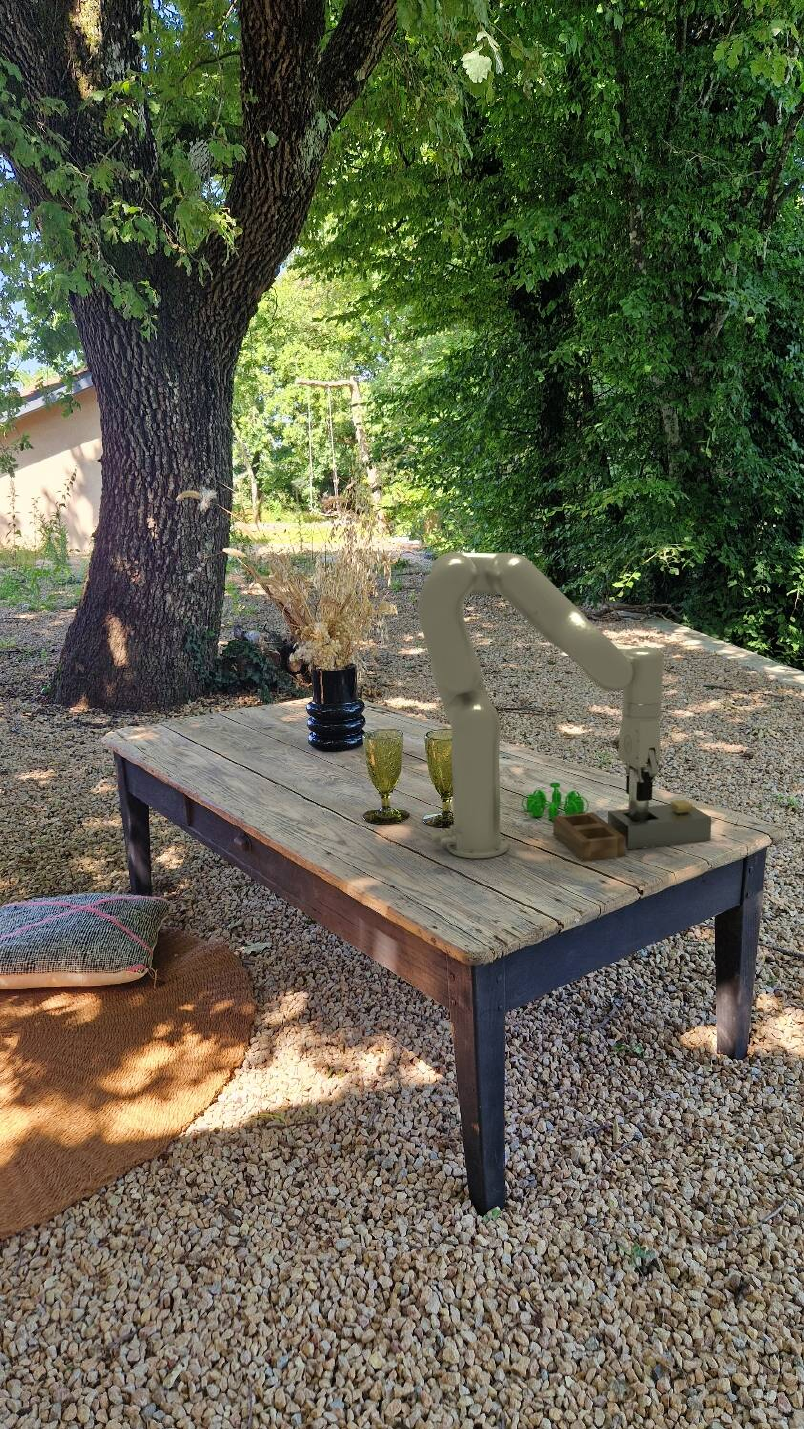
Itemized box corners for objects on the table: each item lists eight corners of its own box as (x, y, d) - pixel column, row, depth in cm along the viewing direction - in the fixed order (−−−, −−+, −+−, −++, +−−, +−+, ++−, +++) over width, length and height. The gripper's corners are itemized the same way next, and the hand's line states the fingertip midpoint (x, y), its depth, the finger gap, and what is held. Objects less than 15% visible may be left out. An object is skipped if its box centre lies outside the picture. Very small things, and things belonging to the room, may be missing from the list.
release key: (677, 836, 187) (677, 806, 186) (669, 831, 190) (670, 801, 189) (691, 834, 188) (692, 804, 186) (683, 829, 191) (684, 800, 189)
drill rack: (582, 861, 177) (582, 842, 176) (553, 834, 192) (553, 816, 191) (625, 856, 178) (625, 837, 178) (593, 829, 194) (593, 812, 193)
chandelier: (587, 825, 198) (587, 795, 196) (518, 822, 201) (518, 792, 200) (589, 804, 212) (589, 775, 210) (525, 801, 215) (525, 773, 214)
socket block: (628, 850, 182) (628, 826, 181) (607, 833, 191) (607, 811, 190) (710, 840, 185) (711, 817, 184) (686, 824, 195) (686, 802, 193)
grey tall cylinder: (633, 829, 184) (634, 772, 182) (624, 823, 188) (626, 767, 186) (651, 827, 185) (653, 771, 183) (642, 821, 189) (644, 766, 186)
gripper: (607, 702, 189) (605, 786, 193) (643, 719, 173) (639, 811, 177) (640, 700, 190) (637, 784, 194) (679, 717, 174) (675, 808, 178)
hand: (638, 796), depth 185 cm, fingers closed on grey tall cylinder, 4 cm apart
